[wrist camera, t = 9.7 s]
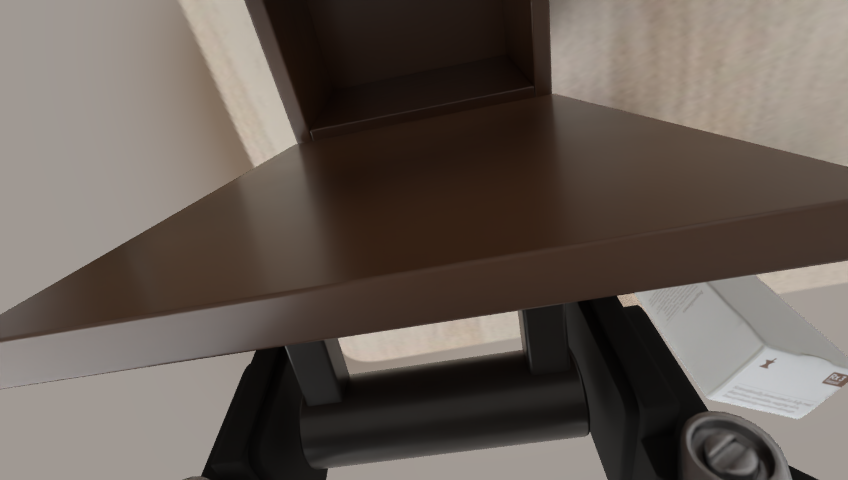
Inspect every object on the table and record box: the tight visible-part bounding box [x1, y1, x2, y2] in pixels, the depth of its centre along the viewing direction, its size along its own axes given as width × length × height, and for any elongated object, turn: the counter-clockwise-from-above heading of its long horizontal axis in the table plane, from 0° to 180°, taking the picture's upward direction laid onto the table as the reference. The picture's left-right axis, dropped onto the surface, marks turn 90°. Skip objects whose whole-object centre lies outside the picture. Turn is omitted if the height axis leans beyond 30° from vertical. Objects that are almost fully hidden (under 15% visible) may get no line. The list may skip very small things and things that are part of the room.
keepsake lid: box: [0, 94, 848, 469], centre depth 12 cm, size 14×11×5 cm
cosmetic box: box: [634, 275, 848, 419], centre depth 26 cm, size 6×4×12 cm
